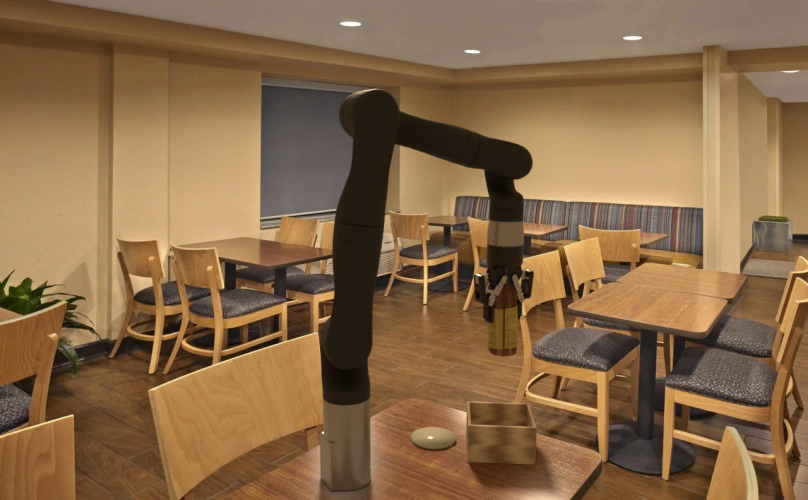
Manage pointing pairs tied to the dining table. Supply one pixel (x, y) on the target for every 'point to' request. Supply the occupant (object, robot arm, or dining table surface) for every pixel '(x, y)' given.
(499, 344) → the sauce bottle
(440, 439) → the saucer
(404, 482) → the dining table surface
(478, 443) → the caddy
